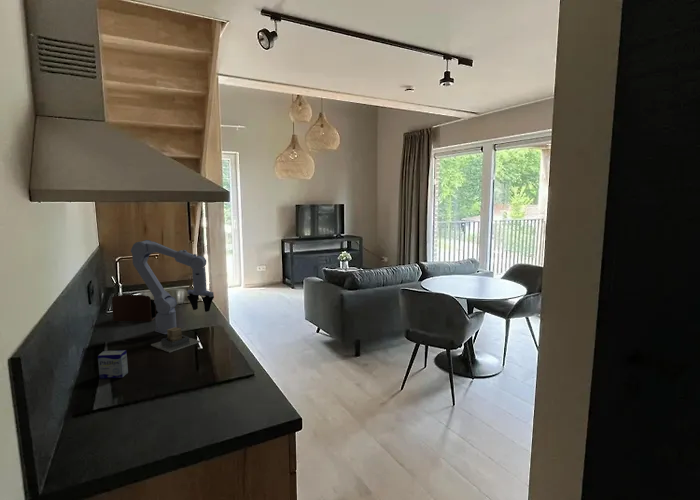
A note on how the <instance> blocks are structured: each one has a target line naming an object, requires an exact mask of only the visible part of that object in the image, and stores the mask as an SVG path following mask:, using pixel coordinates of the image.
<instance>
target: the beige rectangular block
mask: <svg viewBox="0 0 700 500" xmlns="http://www.w3.org/2000/svg"><path fill="white" fill-rule="evenodd" d="M166 335H167V337H168V340H170V341H176V340H179V339H182V335H183V333H182V328H179V327H175V328H171V329H168V330H167V334H166Z"/></svg>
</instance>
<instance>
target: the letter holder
mask: <svg viewBox="0 0 700 500" xmlns="http://www.w3.org/2000/svg"><path fill="white" fill-rule="evenodd" d="M111 302H112V303H111V304H112V305H111V306H112V321H142V322H153V321H155V320H154V319H155V317H156V314H157V313H158V312H157V310H156V305H155V303H154V298H153V299H151V296H149V295H146V294H145V295H144V294H121V295H115V296H112V297H111Z"/></svg>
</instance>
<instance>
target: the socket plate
mask: <svg viewBox="0 0 700 500" xmlns="http://www.w3.org/2000/svg"><path fill="white" fill-rule="evenodd" d="M199 343H201V341H200V340H199V339H196V338H192V337H190V336H187V335H183V334H182V339H179V340H176V341H170V340H168V336H167V337H164V338H161V340H160V341H157V342H154V343H151V344H150V347H153V348H156V349H158V350H162V351H164V352H166V353H172V352H176V351H179V350H181V349H184V348H187V347H190V346H193V345H197V344H199Z"/></svg>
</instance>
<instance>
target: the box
mask: <svg viewBox="0 0 700 500" xmlns="http://www.w3.org/2000/svg"><path fill="white" fill-rule="evenodd" d="M127 353H128V352H127V349H120V350H119V349H118V350H103V351H102V352H101V353H99V354H98V355H97V362H98V375H99V376H98V377H99V379H100V380H103V379H120V378H121V379H122V378H124V377H125V376H126V375H127V374H128V373H129V368H128V367H129V366H128V356H127Z"/></svg>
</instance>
